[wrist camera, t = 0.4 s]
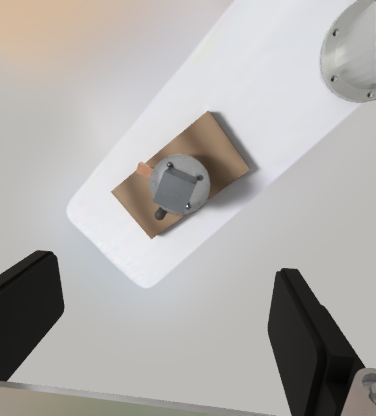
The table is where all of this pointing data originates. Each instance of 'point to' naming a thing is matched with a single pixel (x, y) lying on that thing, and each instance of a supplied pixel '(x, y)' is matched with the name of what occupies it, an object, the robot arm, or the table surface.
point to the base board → (190, 145)
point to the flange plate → (188, 168)
